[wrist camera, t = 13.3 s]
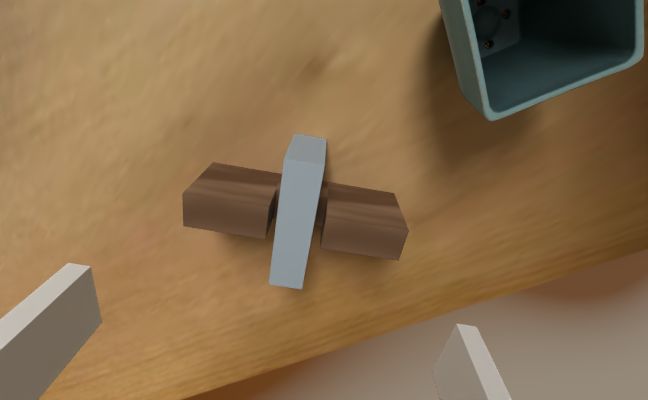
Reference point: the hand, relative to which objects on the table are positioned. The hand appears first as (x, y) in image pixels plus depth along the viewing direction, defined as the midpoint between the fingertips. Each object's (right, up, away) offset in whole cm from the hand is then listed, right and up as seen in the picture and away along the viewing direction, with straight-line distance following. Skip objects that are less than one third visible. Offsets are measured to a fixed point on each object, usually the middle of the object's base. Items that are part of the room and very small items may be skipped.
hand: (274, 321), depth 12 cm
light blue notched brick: (0, +5, +20) cm, 21 cm away
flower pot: (+14, +18, +13) cm, 27 cm away
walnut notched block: (0, +5, +20) cm, 21 cm away
